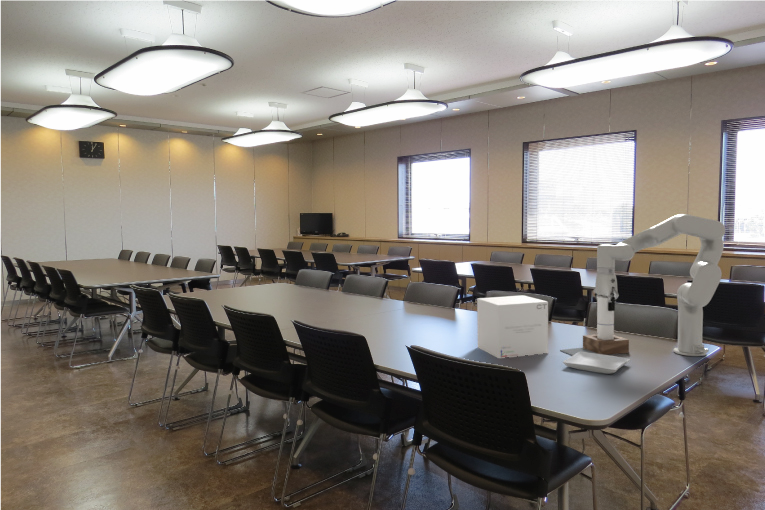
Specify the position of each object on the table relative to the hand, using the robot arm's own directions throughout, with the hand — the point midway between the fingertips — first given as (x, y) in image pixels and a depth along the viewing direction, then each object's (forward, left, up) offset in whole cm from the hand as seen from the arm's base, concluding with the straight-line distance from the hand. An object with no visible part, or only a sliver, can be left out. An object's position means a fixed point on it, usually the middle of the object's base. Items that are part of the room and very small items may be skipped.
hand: (605, 309), depth 241 cm
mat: (0, +14, -19) cm, 24 cm away
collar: (0, 0, -19) cm, 19 cm away
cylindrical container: (0, 0, -19) cm, 19 cm away
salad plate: (-21, +21, -20) cm, 36 cm away
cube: (+15, +40, -20) cm, 47 cm away
